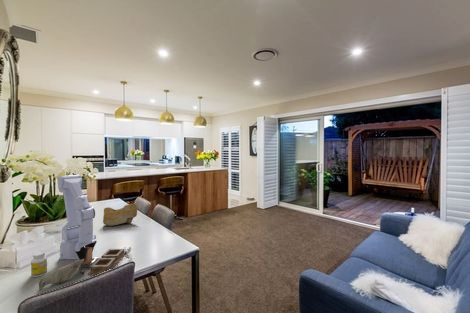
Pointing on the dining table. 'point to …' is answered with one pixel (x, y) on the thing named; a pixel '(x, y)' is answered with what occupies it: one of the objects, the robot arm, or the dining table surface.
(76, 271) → the decorative bird
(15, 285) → the dining table surface
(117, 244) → the dining table surface
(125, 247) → the pliers
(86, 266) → the socket
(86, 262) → the peg
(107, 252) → the rack
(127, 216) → the rough brown rock
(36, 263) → the supplement bottle
